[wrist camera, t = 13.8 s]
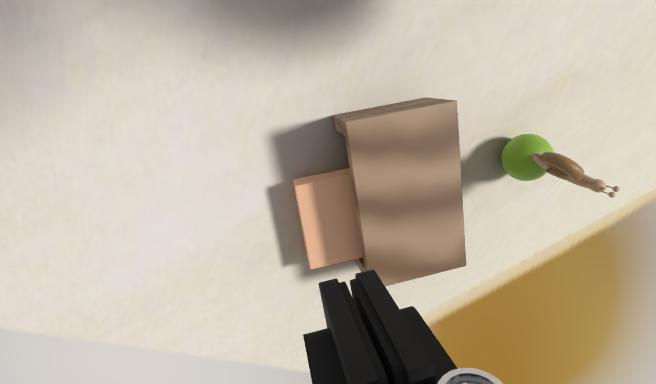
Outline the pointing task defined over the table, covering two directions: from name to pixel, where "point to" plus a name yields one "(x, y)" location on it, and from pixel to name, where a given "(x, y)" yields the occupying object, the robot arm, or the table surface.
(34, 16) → the table surface
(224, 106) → the table surface
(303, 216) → the peach tile
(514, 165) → the snail figurine
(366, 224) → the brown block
